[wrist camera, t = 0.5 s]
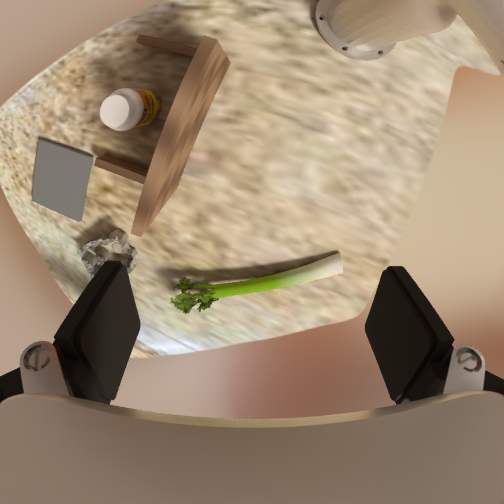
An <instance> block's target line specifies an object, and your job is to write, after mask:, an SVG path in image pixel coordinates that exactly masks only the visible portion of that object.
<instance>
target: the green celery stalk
mask: <svg viewBox="0 0 504 504" xmlns="http://www.w3.org/2000/svg"><path fill="white" fill-rule="evenodd" d="M340 273H343V266H342V259H341V255H340V253H336V254H333V255H331V256H328V257H325V258H323V259H320V260H318V261H315V262H313V263H310V264H307V265H304V266H301V267H297V268H294V269H291V270H287V271H284V272H281V273H277V274H273V275H269V276H264V277H260V278H256V279H251V280H247V281H240V282H232V283H225V284H216V285H212V284H199V283H194V284H193V283H191V282H190V280H189V279H188V280H187V279H185V278H184V280H182V279H183V278H181V280H179V281H181V282H180V283H181V284H178V286H176V287H179V286H180V288H181V289H183V290H181V291H182V294H180V295H176V296H175V297H176V298H175V300H177V301H176V302H175V301H174V300H173V298H172V297H171V301H172V302H171V303H174V305H175V306H174V307H176V306H177V309H180V310H183V313H184V312H185V314H186V313H189V312H190V311H191V310H190V309H191V308H192V306H194V305H195V304H197V302H196V300H195V299H197V298H199V299H198V300H197V301H198V303H200V302H201V304H200V305H199V309H200V308H202V309H203V310H205V309H207V308H209V307H211V306H210V305H211V304H212V301H213V302H214V301H216V300H218V299H219V297H226V296H233V295H240V294H246V293H252V292H258V291H265V290H270V289H276V288H282V287H287V286H291V285H296V284H300V283H304V282H309V281H313V280H317V279H321V278H325V277H328V276H332V275H336V274H340ZM190 283H191V284H190ZM192 286H193V287H192ZM186 287H187V288H186ZM172 288H173V289H176V288H175V287H172ZM180 288H178V289H180ZM192 288H207V289H211V290H207V291H204V292H200V293H197V294H190V292H188V293H185V292H186V291H187V289H192ZM185 290H186V291H185ZM189 294H190V295H189ZM192 297H193V298H192ZM217 298H218V299H217ZM214 299H216V300H214ZM193 300H195V301H193ZM178 301H179V302H178ZM195 302H196V303H195ZM193 303H194V304H193ZM203 307H204V308H203ZM199 309H198V308H197V310H199ZM188 310H189V311H188ZM200 311H201V309H200V310H199V312H200Z"/></svg>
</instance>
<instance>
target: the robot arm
mask: <svg viewBox="0 0 504 504" xmlns="http://www.w3.org/2000/svg"><path fill="white" fill-rule="evenodd" d="M457 14H458V15H459V16H460V17H461V18H462V20H463V21H464V22H465V23H466V25H468V26H469V27H470V29H471V30H472V31H473V33H474V34H475V35H476V37H477V38H478V39H479V41H480V42H481V44H482V45H483V46H484V48H485V49H486V51H487V52H488V54H489V55H490V57H491V58H492V60H493V61H494V63H495V65H496V66H497V68H498V69H499V71H500V73H501V74H502V76H503V77H504V0H319V2H318V3H317V6H316V9H315V20H316V25H317V27H318V30H319V32H320V34H321V35H322V37H323V38H324V39H325V41H326V42H327V43H328V44H329V45H330V46H331V47H332V48H334V49H335V50H336V51H338V52H339V53H341V54H343V55H345V56H347V57H349V58H353V59H356V60H364V61H368V60H375V59H379V58H382V57H384V56H386V55H387V54H389V53H390V52H391V51H392V49H393V48H394V47H395V45H396V43H397V42H400V41H404V40H408V39H411V38H415V37H419V36H424V35H428V34H432V33H436V32H439V31H442V30H444V29H446V28H447V27H449V26H450V25H451V24H452V22H453V21H454V20H455V18H456V16H457ZM319 18H322V20H320V19H319ZM342 48H344V49H345V50H344V51H343V50H342ZM378 52H379V54H378ZM139 331H140V319H139V315H138V311H137V308H136V304H135V300H134V296H133V292H132V288H131V284H130V280H129V276H128V272H127V268H126V266H125V265H122V263H121V262H120V261H105V262H104V263H103V264H102V266H101V267H100V269H99V270H98V271H97V273H96V274H95V275H94V277H93V278H92V280H91V281H90V282H89V284H88V285H87V287H86V288H85V290H84V291H83V292H82V294H81V295H80V297H79V298H78V300H77V301H76V303H75V304H74V306H73V307H72V309H71V310H70V312H69V314H68V315H67V316H66V318H65V320H64V321H63V323H62V324H61V326H60V328H59V329H58V331H57V332H56V334H55V336H54V338H55V341H54V342H53V344H51V343H50V342H47V341H39V342H35V343H33V344H31V345H29V346H28V347H27V348H26V349H25V350H24V351H23V353H22V355H21V358H20V367H19V368H17V369H15V370H13V371H11V372H9V373H7V374H4V375H2V376H0V504H504V380H503V379H501V378H499V377H498V376H496V375H494V374H491V373H490V372H488V371H486V370H485V360H484V358H483V356H482V354H481V353H480V352H479V351H478V350H477V349H476V348H474V347H472V346H470V345H467V344H460V345H458V346H456V347H455V348H453V346H452V343H453V341H454V338H453V337H452V335H451V334H450V332H449V330H448V329H447V327H446V326H445V324H444V323H443V321H442V320H441V318H440V317H439V315H438V314H437V312H436V311H435V309H434V308H433V306H432V305H431V304H430V302H429V301H428V299H427V298H426V296H425V295H424V294H423V293H422V291H421V290H420V288H419V287H418V285H417V284H416V283H415V281H414V280H413V279H412V277H411V276H410V275H409V273H408V272H407V271H406V269H405V268H404V267H402V266H389V267H387V269H386V270H384V271H383V272H382V275H381V278H380V282H379V285H378V288H377V291H376V294H375V297H374V300H373V303H372V306H371V309H370V312H369V315H368V318H367V321H366V324H365V332H366V335H367V337H368V340H369V342H370V345H371V347H372V350H373V352H374V355H375V357H376V360H377V363H378V365H379V368H380V370H381V373H382V375H383V378H384V381H385V383H386V386H387V389H388V392H389V394H390V397H391V399H392V400H393V401H395V402H396V405H393V406H388V407H383V408H377V409H371V410H365V411H359V412H352V413H344V414H336V415H327V416H315V417H302V418H285V419H223V418H206V417H205V418H204V417H192V416H181V415H172V414H163V413H156V412H149V411H143V410H137V409H131V408H125V407H119V406H113V405H110V401H111V400H114V399H115V397H116V395H117V392H118V389H119V386H120V383H121V380H122V377H123V374H124V371H125V368H126V366H127V362H128V360H129V357H130V355H131V352H132V349H133V346H134V344H135V341H136V338H137V336H138V333H139Z"/></svg>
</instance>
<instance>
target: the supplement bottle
mask: <svg viewBox="0 0 504 504" xmlns="http://www.w3.org/2000/svg"><path fill="white" fill-rule="evenodd" d="M160 107H161V103H160V99H159V97H158V96H157V94H156V93H155V92H153V91H151V90H149V89H139V88H121V89H118V90H116V91H114V92H112V93H111V94H110V95H109V96H108V97H107V98H106V99H105V100H104V101H103V103H102V104H101V107H100V118H101V120H102V122H103V123H104V124H105V125H107V126H109V127H110V128H112V129H114V130H116V131H126V130H130V129H133V128H137V127H140V126H143V125H147V124H149V123H151V122H152V121H154V120H155V119H156V117H157V116H158V114H159V112H160Z"/></svg>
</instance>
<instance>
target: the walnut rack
mask: <svg viewBox="0 0 504 504" xmlns="http://www.w3.org/2000/svg"><path fill="white" fill-rule="evenodd" d="M136 42H138V43H140V44H142V45H146V46H150V47H154V48H158V49H162V50H166V51H169V52H173V53H176V54H180V55H183V56H187V57H190V58H193V59H192V61H191V63H190V65H189V67H188V70H187V72H186V74H185V76H184V78H183V81H182V83H181V85H180V87H179V90H178V92H177V94H176V97H175V99H174V102H173V104H172V106H171V109H170V111H169V114H168V117H167V119H166V122H165V124H164V127H163V130H162V132H161V135H160V138H159V141H158V143H157V146H156V149H155V152H154V155H153V158H152V161H151V164H150V167H149V170H147V169H145V168H142V167H139V166H137V165H134V164H131V163H128V162H126V161H123V160H120V159H118V158H115V157H112V156H109V155H106V154H104V155H102V156H100V157H98V158H96V161H95V165H94V166H97V167H99V168H102V169H105V170H107V171H110V172H113V173H115V174H118V175H121V176H123V177H126V178H129V179H131V180H134V181H136V182H139V183H142V184H144V186H143V190H142V193H141V196H140V200H139V204H138V207H137V211H136V215H135V218H134V222H133V226H132V230H131V233H132V234H134V235H137V236H139V237H142V235H143V234H144V232H145V231H146V229H147V228H148V227H149V225H150V224H151V222H152V221H153V220H154V218H155V217H156V216H157V214H158V213H159V211H160V210H161V209H162V207H163V206H164V205H165V203H166V202H167V201H168V199H169V198H170V197H171V195H172V194H173V193H174V192H175V190H176V189H177V187H178V184H179V181H180V178H181V176H182V173H183V170H184V168H185V165H186V163H187V160H188V157H189V155H190V152H191V150H192V147H193V145H194V142H195V140H196V138H197V135H198V133H199V130H200V128H201V126H202V123H203V121H204V119H205V116H206V114H207V112H208V110H209V107H210V105H211V103H212V101H213V99H214V96H215V94H216V92H217V90H218V88H219V86H220V84H221V82H222V80H223V77H224V75H225V73H226V71H227V69H228V67H229V65H230V61H229V59H228V57H227V56H226V54H225V52H224V51H223V49H222V47H221V45H220V44H219V42H218V40H216V39H213V38H210V37H207V36H204V37H203V39H202V41H201V43H200V45H199V47H198V49H195V48H192V47H188V46H185V45H181V44H178V43H174V42H170V41H166V40H162V39H158V38H154V37H150V36H145V35H141V34H140V35H139V37H138V39H137V41H136Z"/></svg>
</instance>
